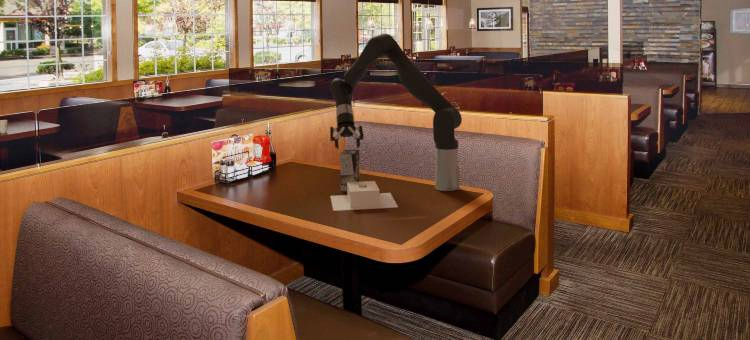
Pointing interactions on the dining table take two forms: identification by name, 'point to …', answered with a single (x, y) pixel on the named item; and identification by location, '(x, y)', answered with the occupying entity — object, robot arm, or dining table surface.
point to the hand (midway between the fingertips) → (347, 147)
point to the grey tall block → (349, 167)
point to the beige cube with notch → (363, 194)
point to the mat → (343, 204)
